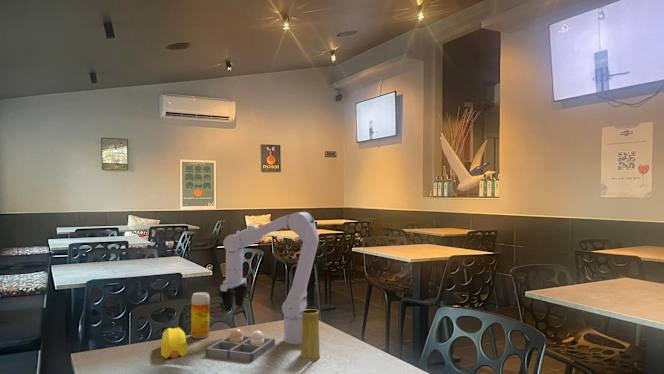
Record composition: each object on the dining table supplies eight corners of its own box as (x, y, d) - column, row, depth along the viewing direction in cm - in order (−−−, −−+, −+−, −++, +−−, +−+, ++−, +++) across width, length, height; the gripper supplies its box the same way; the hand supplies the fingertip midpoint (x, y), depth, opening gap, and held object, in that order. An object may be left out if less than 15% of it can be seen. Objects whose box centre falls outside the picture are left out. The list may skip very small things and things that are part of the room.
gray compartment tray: (274, 348, 154) (274, 338, 154) (252, 364, 139) (252, 354, 139) (231, 343, 159) (231, 334, 159) (205, 358, 144) (205, 348, 144)
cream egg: (266, 346, 153) (266, 329, 153) (260, 351, 149) (260, 333, 149) (254, 345, 154) (254, 328, 155) (247, 349, 150) (247, 331, 150)
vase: (323, 356, 146) (324, 310, 147) (312, 362, 141) (312, 314, 141) (307, 353, 150) (308, 307, 150) (296, 358, 145) (296, 311, 145)
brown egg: (245, 344, 155) (245, 327, 155) (239, 348, 151) (239, 331, 151) (233, 343, 157) (233, 326, 157) (226, 347, 153) (227, 329, 153)
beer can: (204, 339, 163) (204, 295, 163) (187, 338, 164) (188, 295, 164) (212, 334, 169) (212, 292, 169) (196, 333, 170) (196, 291, 170)
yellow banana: (160, 363, 141) (187, 360, 143) (161, 340, 141) (188, 338, 143) (161, 345, 158) (185, 342, 160) (161, 324, 158) (185, 322, 160)
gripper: (234, 265, 173) (233, 302, 173) (212, 271, 159) (212, 312, 159) (251, 266, 171) (251, 304, 171) (231, 272, 157) (231, 313, 157)
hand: (233, 308), depth 165 cm, fingers open, 7 cm apart
